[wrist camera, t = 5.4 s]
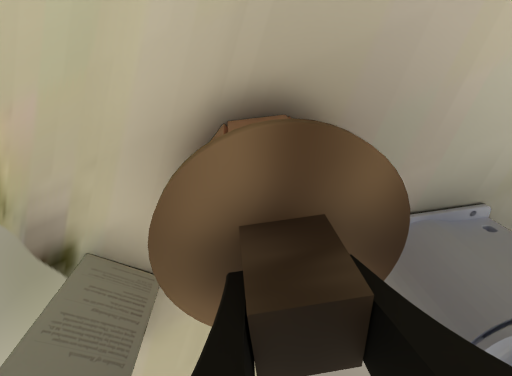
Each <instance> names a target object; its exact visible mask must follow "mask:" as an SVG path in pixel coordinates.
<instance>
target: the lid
mask: <svg viewBox="0 0 512 376" xmlns="http://www.w3.org/2000/svg"><path fill="white" fill-rule="evenodd" d="M409 225H410V205H409V200H408V194H407V191H406V189H405V186H404V183H403V181H402V179H401V177H400V176H399V174H398V172H397V170H396V169H395V167H394V166H393V165H392V164H391V163H390V162H389V160H388V159H387V158H386V157H385V156H384V155H383V154H382V153H380V152H379V151H378V150H377V149H375V148H374V147H373V146H372V145H370V144H369V143H367V142H366V141H364V140H363V139H361V138H359V137H358V136H356V135H354V134H352V133H351V132H349V131H347V130H345V129H342V128H339V127H337V126H334V125H332V124H328V123H323V122H319V121H314V120H306V119H274V120H268V121H263V122H257V123H252V124H249V125H246V126H243V127H240V128H237V129H234V130H232V131H230V132H228V133H225V134H223V135H221V136H219V137H217V138H215V139H214V140H212V141H210V142H209V143H207V144H206V145H204V146H203V147H201V148H200V149H198V150H197V151H196V152H195V153H194V154H193V155H191V156H190V157H189V158H188V159H187V160H186V161H185V162H184V163H183V164H182V165H181V166H180V167H179V168H178V170H177V171H176V172H175V173H174V174H173V176H172V177H171V179H170V180H169V182H168V183H167V185H166V187H165V188H164V190H163V192H162V195H161V197H160V199H159V201H158V204H157V206H156V209H155V211H154V213H153V216H152V220H151V224H150V228H149V237H148V251H149V260H150V263H151V267H152V270H153V273H154V275H155V277H156V280H157V282H158V284H159V285H160V287H161V288H162V290H163V291H164V293H165V294H166V295H167V297H168V298H169V299H170V300H171V301H172V302H173V303H174V304H175V305H176V306H177V307H179V308H180V309H181V310H182V311H184V312H185V313H186V314H188V315H190V316H191V317H193V318H194V319H196V320H198V321H200V322H202V323H204V324H207V325H209V326H213V323H214V320H215V317H216V314H217V311H218V308H219V305H220V301H221V298H222V294H223V291H224V286H225V282H226V275H227V274H228V273H230V272H236V271H243V277H244V288H245V299H246V310H247V318H248V324H249V330H250V336H251V342H252V348H253V355H254V361H255V367H256V373H257V376H309V375H315V374H320V373H326V372H332V371H337V370H343V369H349V368H354V367H360V366H362V361H363V356H364V350H365V345H366V339H367V333H368V328H369V322H370V316H371V311H372V305H373V299H374V294H373V292H372V290H371V289H370V287H369V286H368V284H367V282H366V281H365V279H364V277H363V276H362V274H361V272H360V271H359V269H358V268H357V266H356V264H355V263H354V261H353V259H352V258H351V256H350V254H352V255H353V256H354V257H355V258H357V259H358V260H359V261H360V262H361V263H362V264H364V265H365V266H366V267H367V268H368V269H370V270H371V271H372V272H373V273H374V274H376V275H377V276H378V277H379V278H380V279H382V280H383V281H384V280H385V279H386V278H387V276H388V275H389V274H390V273H391V271H392V270H393V268H394V266H395V265H396V263H397V261H398V260H399V258H400V256H401V253H402V251H403V249H404V246H405V243H406V240H407V237H408V232H409Z"/></svg>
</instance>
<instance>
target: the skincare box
mask: <svg viewBox="0 0 512 376" xmlns="http://www.w3.org/2000/svg"><path fill="white" fill-rule="evenodd" d="M159 286H160V285H159V284H158V282H157V280H156V277H155V275H153V274H150V273H147V272H144V271H141V270H138V269H135V268H132V267H129V266H125V265H122V264H119V263H116V262H113V261H110V260H107V259H104V258H101V257H97V256H94V255H91V254H85V256H84V257H83V259H82V260H81V261H80V263H79V264H78V265H77V267H76V268H75V269H74V271H73V272H72V273H71V275H70V276H69V277H68V279H67V280H66V281H65V283H64V284H63V285H62V287H61V288H60V289H59V291H58V292H57V293H56V295H55V296H54V297H53V298H52V300H51V301H50V302H49V304H48V305H47V306H46V308H45V309H44V310H43V312H42V313H41V314H40V316H39V317H38V318H37V319H36V321H35V322H34V323H33V325H32V326H31V327H30V329H29V330H28V331H27V333H26V334H25V335H24V337H23V338H22V339H21V341H20V342H19V343H18V344H17V346H16V347H15V348H14V350H13V351H12V352H11V354H10V355H9V357H8V358H7V359H6V360H5V362H4V363H3V364H2V366H1V367H0V376H131V375H132V372H133V369H134V366H135V363H136V359H137V356H138V353H139V350H140V347H141V343H142V340H143V337H144V334H145V331H146V328H147V324H148V321H149V318H150V315H151V312H152V309H153V306H154V303H155V299H156V296H157V293H158V289H159Z"/></svg>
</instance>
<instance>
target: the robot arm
mask: <svg viewBox="0 0 512 376" xmlns="http://www.w3.org/2000/svg"><path fill="white" fill-rule="evenodd" d="M490 212H491V207H489V206H488V205H486V204H480V205H474V206H467V207H460V208H453V209H446V210H439V211H432V212H425V213H418V214H411V215H410V225H409V232H408V237H407V240H406V243H405V246H404V249H403V251H402V253H401V256H400V258H399V260H398V261H397V263H396V265H395V266H394V268H393V270H392V271H391V273H390V274H389V275H388V276H387V278H386V279H385V280H384V281H383V280H382V279H380V278H379V277H378V276H377V275H376V274H374V273H373V272H372V271H371V270H370V269H368V268H367V267H366V266H365V265H364V264H362V263H361V262H360V261H359V260H358V259H357V258H355V257H354V256H353V255H352V254H350V256H351V258H352V259H353V261H354V263H355V264H356V266H357V268H358V269H359V271H360V272H361V274H362V276H363V277H364V279H365V281H366V282H367V284H368V286H369V287H370V289H371V290H372V292H373V294H374V299H373V305H372V311H371V316H370V322H369V328H368V333H367V339H366V345H365V350H364V356H363V361H364V363H365V365H366V367H367V369H368V371H369V373H370V375H371V376H512V231H510V230H509V229H507V228H505V227H504V226H502V225H500V224H499V223H497V222H495V221H494V220H492V219H490V218H489V215H490ZM191 376H255V367H254V355H253V348H252V342H251V336H250V330H249V324H248V318H247V310H246V299H245V288H244V277H243V271H236V272H230V273H228V274H227V275H226V282H225V286H224V291H223V294H222V298H221V301H220V305H219V308H218V311H217V314H216V317H215V320H214V323H213V326H212V328H211V331H210V333H209V336H208V338H207V341H206V343H205V346H204V348H203V351H202V353H201V355H200V358H199V360H198V362H197V364H196V366H195V369H194V371H193V373H192V375H191Z"/></svg>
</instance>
